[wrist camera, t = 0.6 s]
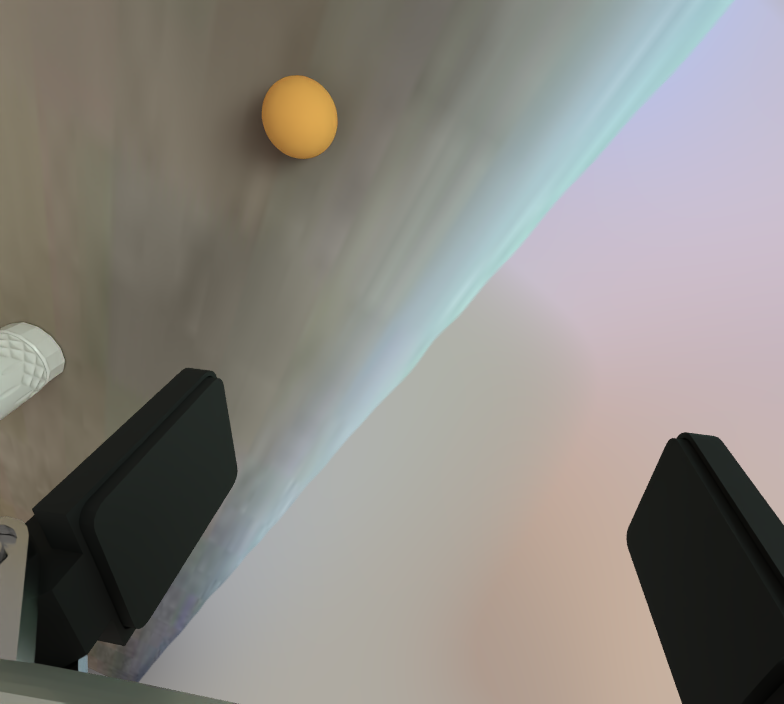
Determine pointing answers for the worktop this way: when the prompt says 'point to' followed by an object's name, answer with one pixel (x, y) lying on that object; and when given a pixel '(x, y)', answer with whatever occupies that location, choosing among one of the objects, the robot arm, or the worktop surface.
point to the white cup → (26, 363)
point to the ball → (299, 117)
